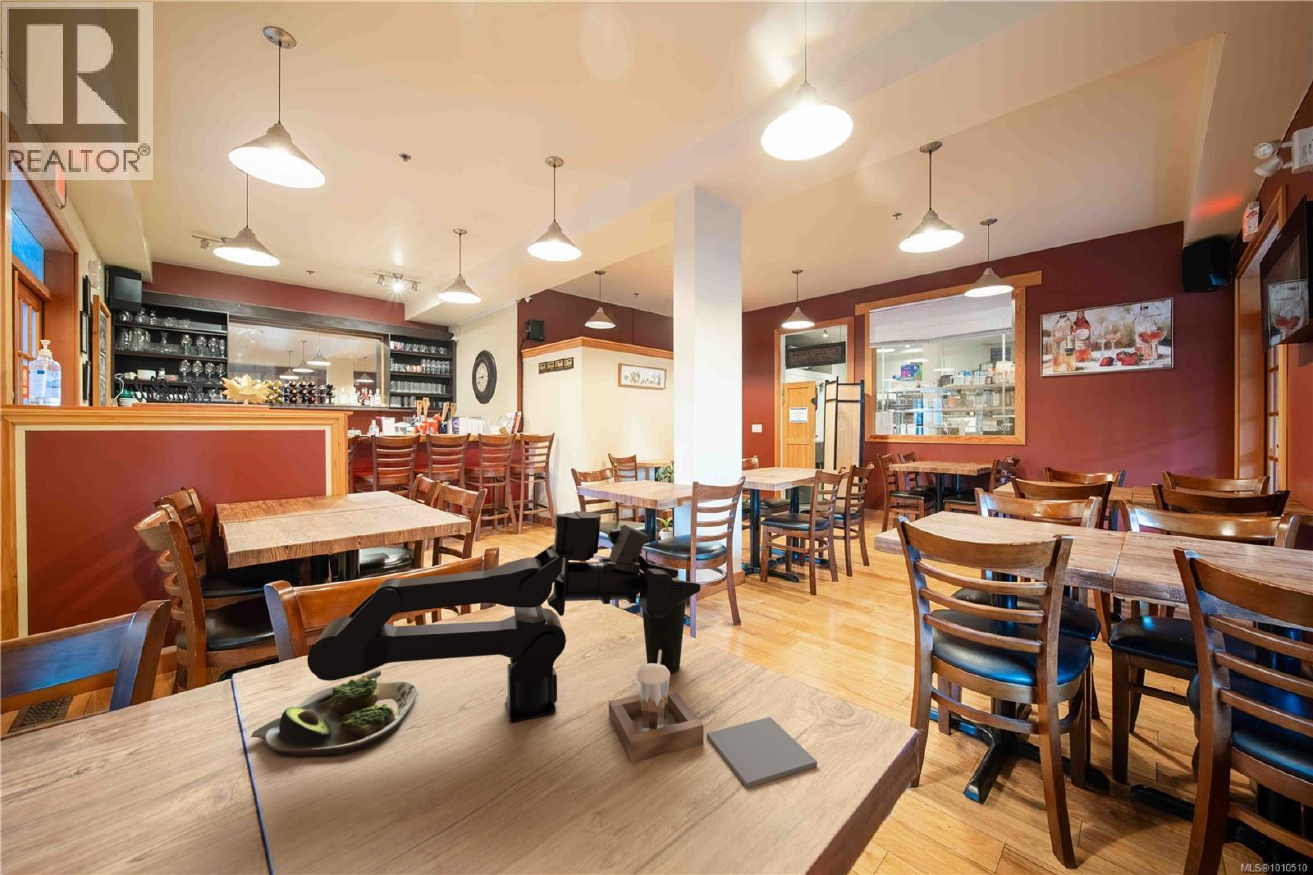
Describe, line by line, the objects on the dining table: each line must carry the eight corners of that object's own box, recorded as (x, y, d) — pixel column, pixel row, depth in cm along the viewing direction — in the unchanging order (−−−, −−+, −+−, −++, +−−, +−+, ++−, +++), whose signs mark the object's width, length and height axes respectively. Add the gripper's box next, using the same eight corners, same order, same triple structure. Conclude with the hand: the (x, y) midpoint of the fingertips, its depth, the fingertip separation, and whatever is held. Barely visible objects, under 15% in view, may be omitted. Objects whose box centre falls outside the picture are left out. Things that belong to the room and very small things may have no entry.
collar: (631, 762, 62) (631, 742, 62) (608, 718, 72) (608, 701, 72) (703, 743, 66) (703, 724, 66) (673, 703, 75) (673, 687, 75)
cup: (686, 678, 83) (686, 606, 82) (640, 678, 83) (640, 606, 83) (684, 656, 90) (685, 590, 90) (642, 656, 91) (642, 590, 90)
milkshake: (675, 722, 71) (675, 652, 70) (663, 745, 66) (663, 670, 65) (645, 716, 72) (645, 647, 72) (631, 738, 67) (631, 664, 67)
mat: (746, 788, 58) (746, 782, 58) (706, 737, 67) (706, 733, 67) (817, 766, 62) (817, 761, 62) (769, 720, 71) (769, 716, 71)
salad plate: (328, 682, 82) (327, 654, 82) (438, 680, 83) (438, 653, 83) (232, 763, 63) (231, 727, 63) (377, 760, 63) (376, 724, 63)
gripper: (614, 538, 69) (717, 540, 74) (586, 519, 86) (671, 522, 91) (608, 621, 68) (712, 617, 73) (581, 585, 86) (666, 584, 91)
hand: (688, 579), depth 82 cm, fingers open, 9 cm apart
